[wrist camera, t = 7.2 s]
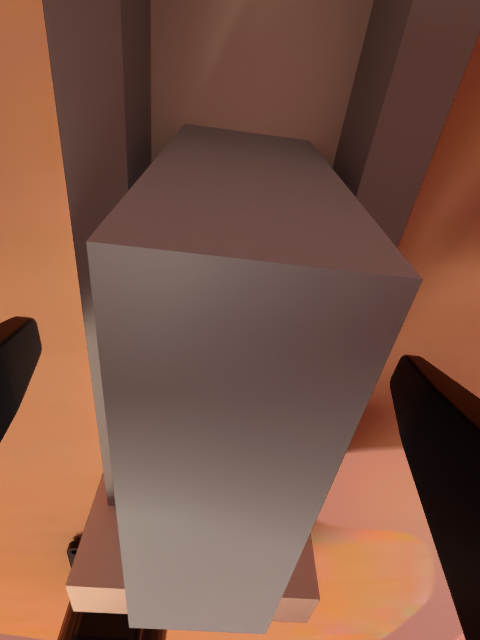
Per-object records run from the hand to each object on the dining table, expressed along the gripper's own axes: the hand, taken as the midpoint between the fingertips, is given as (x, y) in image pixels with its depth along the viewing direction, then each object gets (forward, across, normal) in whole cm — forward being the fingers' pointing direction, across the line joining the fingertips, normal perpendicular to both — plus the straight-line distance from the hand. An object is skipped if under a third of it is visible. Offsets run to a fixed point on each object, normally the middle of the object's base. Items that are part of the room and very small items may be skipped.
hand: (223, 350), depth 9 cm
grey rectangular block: (+3, 0, 0) cm, 3 cm away
